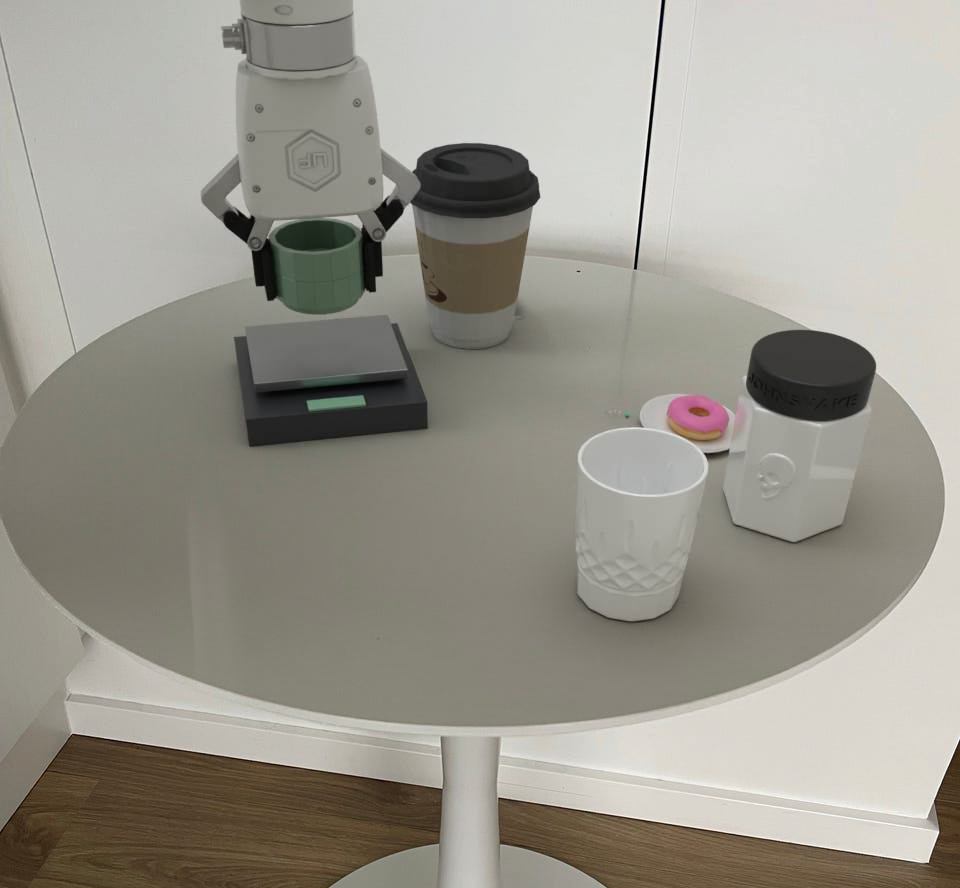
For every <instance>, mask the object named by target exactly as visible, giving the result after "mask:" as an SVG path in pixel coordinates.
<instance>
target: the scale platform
mask: <svg viewBox="0 0 960 888" xmlns="http://www.w3.org/2000/svg"><path fill="white" fill-rule="evenodd" d="M391 324H392V323H391V320H390V317H389V315H388V314H379V315H378V314H377V315H366V316H355V317H342V318H332V319H331V318H329V319H321V320H319V319H318V320H308V321H297V322H284V323H282V322H281V323H272V324H270V323H269V324H261V325H248V326H245V327H244V330H245V336H246V339H247V345H248V351H249V357H250V363H251V370H252V376H253V382H254V388H255V393H257V392H268V391H279V390H289V389H300V388H310V387H321V386H332V385H342V384H353V383H364V382H374V381H385V380H395V379H406V378H408V368H407V366H406V363H405V360H404V358H403V355H402V352H401V349H400V347H399V344H398V341H397V339H396V336H395V333H394V331H393V328H392V325H391Z"/></svg>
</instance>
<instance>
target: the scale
mask: <svg viewBox="0 0 960 888" xmlns="http://www.w3.org/2000/svg"><path fill="white" fill-rule="evenodd" d="M391 325H392V328H393V331H394V333H395V336H396V339H397V341H398V344H399V347H400V349H401V352H402V355H403V358H404V360H405V363H406V366H407V368H408V378H406V379H395V380H385V381H374V382H364V383H353V384H342V385H332V386H321V387H310V388H300V389H289V390H279V391H268V392H257V393H255V388H254V382H253V376H252V370H251V363H250V357H249V351H248V345H247V339H246V335H243V336H234V337H233V341H234V349H235V350H234V351H235V357H236V362H237V363H236V364H237V365H236V366H237V370H238V378H239V385H240V391H241V392H240V393H241V398H242V405H243V406H242V407H243V412H244V421H245V426H246V433H247V441H248V447H255V446H266V445H275V444H276V445H278V444H285V443H287V444H288V443H296V442H305V441H315V440H316V441H317V440H327V439H334V438H335V439H336V438H345V437H354V436H355V437H356V436H364V435H376V434H385V433H394V432H403V431H414V430H415V431H416V430H423V429H428V428H429V424H428V423H429V420H428V419H429V418H428V417H429V415H428V410H429V409H428V400H427V398H426V393H425V392H424V389H423V387H422V384H421V382H420V379H419V377H418V373H417V371H416V368H415V366H414V363H413V360H412V358H411V355H410V353H409V351H408V347H407V344H406V342H405V340H404V337H403V334H402V331H401V328H400V325H399V324H398V322H394V323H391Z"/></svg>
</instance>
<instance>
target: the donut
mask: <svg viewBox="0 0 960 888" xmlns="http://www.w3.org/2000/svg"><path fill="white" fill-rule="evenodd" d="M604 413H605V414H606V413H607V410H605V411H604ZM608 414H611V415H613V414H614V415H615V416H616V415H617V410H614V411H610V410H609V411H608ZM620 415H621V410H620V411H618V416H620ZM624 416H625V417H626V418H629V416H630V413H629V412H625V413H624ZM735 416H736V413H734V412H733V411H732V410H731V409H729V408H728V407H726V406H724V405H723V404H721V403H719V402H718V401H716V400H714V399H711V398H709V397H706V396H703V395H699V394H686V393H670V394H663V395H658V396H656V397H653V398H650V399H649V400H647V401H646V402H645V403H644V404H643V405H642V406H641V409H640V410H639V420H640V423H641V425H642V428H651V429H658V430H662V431H666V432H670V433H673V434H676V435H678V436H681V437H683V438H685V439H687V440H688V441H690V442H692V443H693V444H695V445H696V446H697V447H698V448H699V449H700V450H701V451H702V452H703V453H704V454H711V453H712V454H713V453H720V452H724V451H728V450H730V445H731V439H732V433H733V428H734V422H735Z"/></svg>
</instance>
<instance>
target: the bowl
mask: <svg viewBox="0 0 960 888" xmlns="http://www.w3.org/2000/svg"><path fill="white" fill-rule="evenodd" d="M268 239H269V243H270V248H271V252H272V261H273V271H274V280H275V290H276V299H277V300H278V301H280V302H281V303H282V304H283V305H284V306H285V308H287V309H289V310H291V311H293V312H296V313H300V314H304V315H314V316H315V315H316V316H317V315H319V316H320V315H321V316H322V315H330V314H331V315H332V314H337V313H340V312H344V311H346V310H349V309H350V308H352V307H354V306H355V305H356V304H357V303H358V302H359V301H360V299H361V298H362V297H363V296H364V294H365V292H366V288H365V270H364V250H363V235H362V232H361V228H360V227H358V226H356V225H355V224H353V223H352V222H349V221H346V220H341V219H339V218H338V219H337V218H331V217H325V218H311V219H296V220H290V221H287V222H285V223H282V224H280V225H278V226H276V227H274V228H273V229H272V230H271V232H269V234H268Z"/></svg>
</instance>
